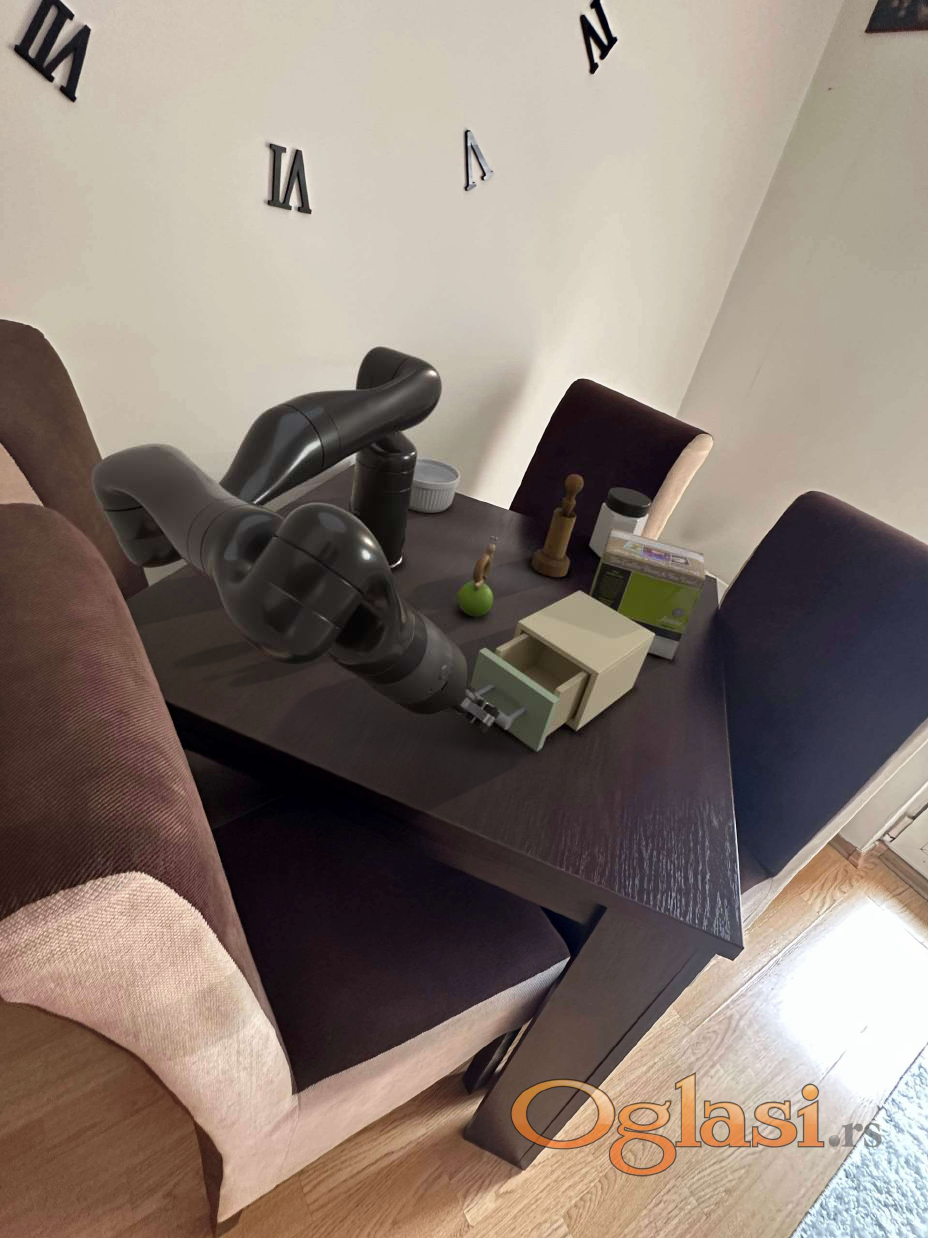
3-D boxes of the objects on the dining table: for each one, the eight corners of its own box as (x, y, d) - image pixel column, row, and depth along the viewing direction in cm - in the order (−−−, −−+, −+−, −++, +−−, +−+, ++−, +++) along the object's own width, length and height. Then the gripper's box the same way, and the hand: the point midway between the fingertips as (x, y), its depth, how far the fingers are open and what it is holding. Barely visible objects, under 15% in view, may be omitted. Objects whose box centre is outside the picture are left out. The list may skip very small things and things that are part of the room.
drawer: (514, 769, 74) (530, 718, 70) (443, 713, 80) (454, 663, 75) (596, 706, 86) (614, 660, 82) (529, 662, 92) (543, 616, 87)
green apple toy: (495, 607, 104) (512, 541, 97) (483, 627, 98) (500, 558, 92) (463, 596, 104) (478, 530, 98) (449, 615, 99) (464, 546, 93)
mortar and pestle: (566, 563, 121) (594, 473, 111) (567, 580, 116) (597, 487, 106) (531, 556, 121) (557, 464, 111) (531, 572, 115) (557, 478, 106)
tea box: (672, 629, 108) (706, 552, 100) (671, 662, 100) (708, 580, 92) (584, 602, 110) (611, 524, 102) (576, 632, 102) (605, 549, 94)
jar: (603, 537, 134) (622, 483, 128) (638, 554, 130) (659, 499, 124) (581, 548, 128) (600, 492, 121) (617, 566, 124) (638, 509, 118)
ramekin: (382, 506, 127) (386, 472, 123) (398, 482, 138) (403, 451, 134) (447, 522, 126) (454, 489, 122) (459, 497, 137) (465, 466, 133)
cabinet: (576, 731, 83) (598, 673, 78) (501, 678, 89) (518, 621, 84) (632, 687, 93) (655, 633, 87) (561, 643, 99) (579, 590, 94)
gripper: (336, 656, 60) (412, 703, 75) (438, 739, 53) (499, 773, 68) (386, 591, 60) (452, 651, 75) (492, 666, 54) (541, 715, 69)
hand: (474, 709), depth 72 cm, fingers closed
